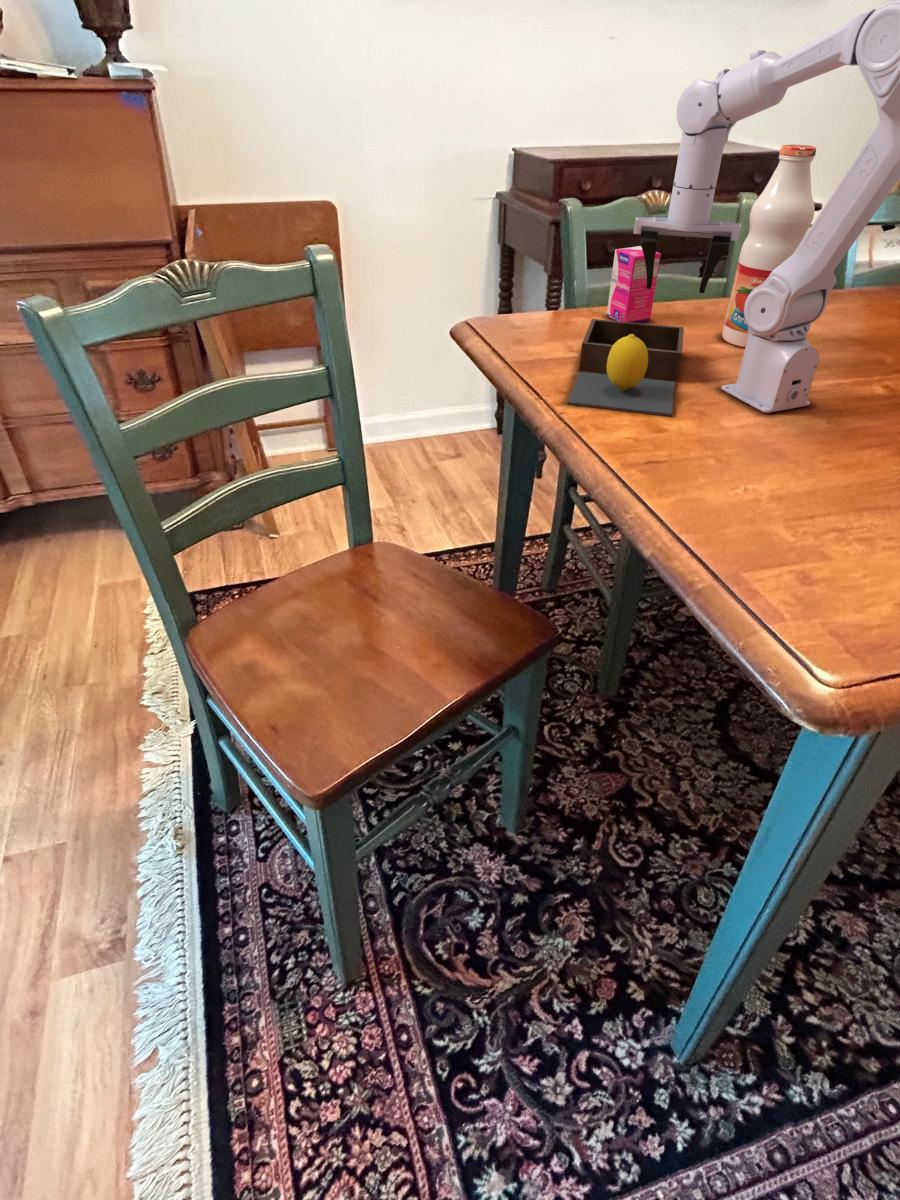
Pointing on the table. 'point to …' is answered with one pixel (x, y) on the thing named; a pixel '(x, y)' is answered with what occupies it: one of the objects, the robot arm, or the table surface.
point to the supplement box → (631, 286)
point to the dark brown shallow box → (657, 339)
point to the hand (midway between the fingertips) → (675, 289)
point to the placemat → (623, 395)
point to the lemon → (627, 362)
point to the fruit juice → (772, 232)
